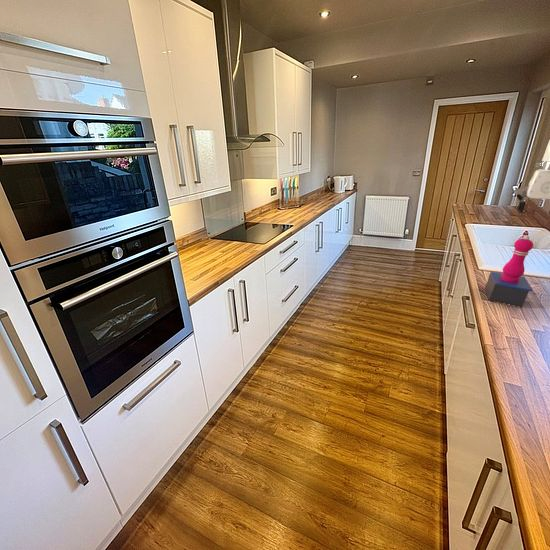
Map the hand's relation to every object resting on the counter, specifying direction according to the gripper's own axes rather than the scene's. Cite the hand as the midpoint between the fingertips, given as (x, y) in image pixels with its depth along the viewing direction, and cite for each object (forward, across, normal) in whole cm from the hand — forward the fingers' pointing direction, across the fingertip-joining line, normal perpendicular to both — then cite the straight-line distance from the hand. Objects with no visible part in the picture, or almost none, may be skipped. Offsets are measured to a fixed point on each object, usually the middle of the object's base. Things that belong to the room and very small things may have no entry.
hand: (535, 213), depth 114 cm
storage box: (+37, 0, -1) cm, 37 cm away
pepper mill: (+29, 0, -1) cm, 29 cm away
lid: (+29, 0, -1) cm, 29 cm away
